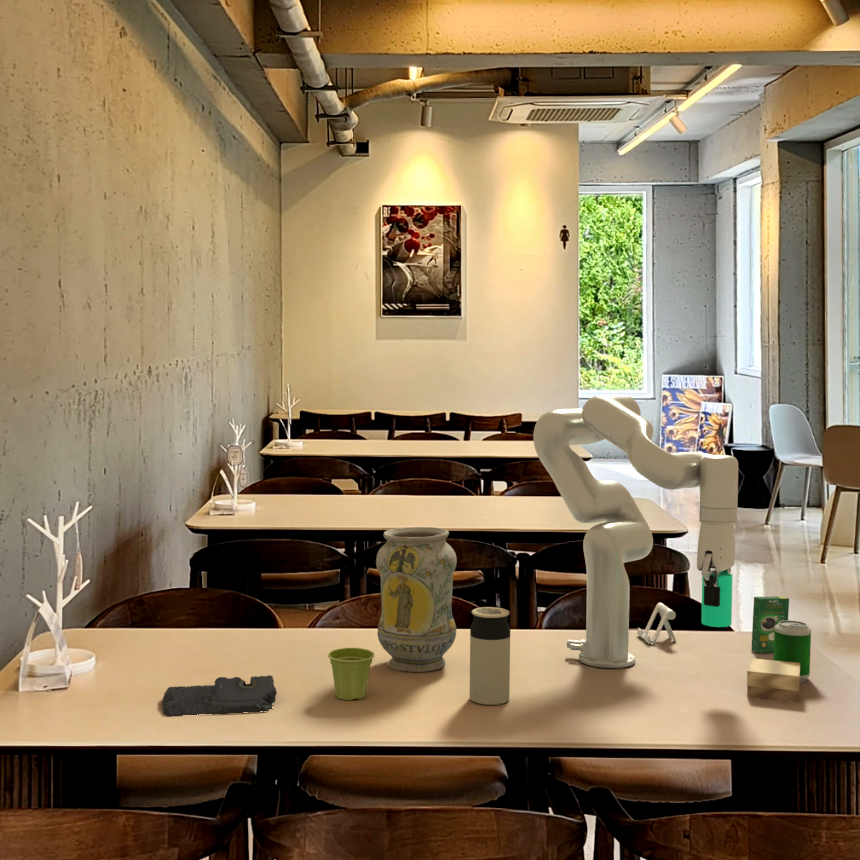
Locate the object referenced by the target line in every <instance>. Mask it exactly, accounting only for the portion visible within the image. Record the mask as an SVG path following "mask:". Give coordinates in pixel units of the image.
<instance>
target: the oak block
mask: <svg viewBox="0 0 860 860" xmlns="http://www.w3.org/2000/svg"><path fill="white" fill-rule="evenodd" d="M746 671H747V672H746V676H747V677H746V686H756V687H766V688H776V689H785V690H795V691H799V692H800V682H799V681H800V663H795V662H784V661H774V659H772V660H771V659H763V658H751V657H750V659H749V663H748V668H747V670H746Z"/></svg>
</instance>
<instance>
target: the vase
mask: <svg viewBox="0 0 860 860" xmlns="http://www.w3.org/2000/svg"><path fill="white" fill-rule="evenodd" d="M449 535H450V532H449V530H448V529H445V528H441V527H433V526H432V527H431V526H410V527H408V526H407V527H399V528H398V527H397V528H391V529H387V530H386V531H384V532H383V538H384V539H385V540H386V543H384V544H383V545H382V546H381V547H380V548H379V550H378V551H377V554H376V558H375V564H376V569H377V572H378V573H379V575H380V576H379V577H380V597H381V599H380V600H381V615H380V619H379V621H378V625H377V634H376V635H377V639H378V641H379V644H380V645H381V646H382V647H381V648H382V649H383V650H384V651H385V652H386V653H387V654H388V655H389V656H391V659H390V660H389V661H388V663H387V664H388V667H390V668H391V669H393V670H395V669H397V670H396V671H400V670H401V672H406V671H408V672H407V673H426V672H425V671H428V672H432V671H437V669H438V670H441V669H442V668H444V667H445V665H446V659H444V655H445V654H446V652H447V653H448V651H449V650H450V648H451V647H452V646H453V644H454V642H455V640H456V638H457V637H456V635H457V625H456V622H455V619H454V617H453V613H452V612H453V611H452V609H453V608H452V601H453V587H454V586H453V581H454V580H453V578H454V577H453V575H454V572H455V570H456V568H457V563H458V562H457V560H458V559H457V555H456V552H455V550H454V548H452V546H451V545H450V544H449V543H447V541H446V540H447V538H448V537H449ZM440 668H441V669H440Z"/></svg>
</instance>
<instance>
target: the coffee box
mask: <svg viewBox="0 0 860 860" xmlns="http://www.w3.org/2000/svg"><path fill="white" fill-rule="evenodd" d="M789 607H790V598H789V597H786V596H785V595H784V596H782V595H781V596H780V595H779V596H778V595H776V596H775V595H774V596H754V597H753V610H752V611H753V612H752V627H751V628H752V633H751V650H750V651H751V652H752V651H754V652H756V653H755V654H772V653H773V654H774V628H775V626H776V625H777V624H778V623H779V622H780V621H786V620H789V610H790V608H789ZM754 652H753V653H754Z"/></svg>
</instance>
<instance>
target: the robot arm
mask: <svg viewBox="0 0 860 860" xmlns="http://www.w3.org/2000/svg"><path fill="white" fill-rule="evenodd" d="M640 408H641V407H640V406H639V403H638V402H637V401H636V400H635V399H634V398H633V397H631V396H630V395H626V394H599V395H595V396H592V397H590V398H589V399H588V400H587V401H585V403H584V404H583V406H582V408H561V409H553V410H550V411H547V412H545V413H543V414H542V415H541V416H540V417H539V418H538V420H536V423H535V425H534V430H533V446H534V450H535V452H536V455H537V457H538V459H539V461H540V462H541V464H542V465H543V467H544V468H545V469H546V472H547V473H548V474H549V476H550V478H551V479H552V480H553V483H554V485H555V487H556V489H557V491H558V492H559V494H560V497H561V498H562V499H563V501H564V504H565V505H566V506H567V508H568V511H569V512H570V514H571V515H572V517H573V518H574V520H575V521H576V522H578V523H580V524H596V523H598V524H596V525H593V526H592V527H590V528H589V529H588V531H587V532H586V533H585V535H584V538H583V544H582V546H583V554H584V561H585V569H586V615H585V617H586V622H585V625H586V626H585V628H586V630H585V632H586V633H585V639H581V640H576V639H567V641H566V648H567V649H570V651H580V653H579V654H578V661H579V662H581V663H582V664H584V665H587V666H590V667H595V668H601V669H602V668H603V669H619V668H620V669H622V668H627V667H630V666H632V665H634V664H635V663H636V657H635V655H633V654H632V653H630V652H629V636H630V635H629V631H630V630H629V627H630V626H629V625H630V624H629V623H630V579H629V575H628V574H627V571H626V567H625V563H628V562H629V563H630V562H634V561H637V560H642V559H644V558H646V557H647V556H648V555H649V554H650V553H651V552H652V549H653V546H654V538H653V533H652V530H651V528H650V526H649V524H648V522H647V520H646V519H645V517H644V514H642V511H641V510H640V508H639V507H638V505H637V503H636V501H635V499H634V498H633V495H632V494H631V493H630V492H629V490H628V489H627V487H625V486H624V485H623V484H621V483H620V482H618V481H616V480H612V479H610V480H609V479H607V480H606V479H605V480H597V479H596V478H595V476H594V475H592V472H591V471H590V469H589V467H588V465H587V463H586V462H585V460H584V459H583V458H582V457H581V456H580V455H579V454H577V452H575V451H574V450H573V449H572V448H571V447H570V446H577V445H588V444H594V443H598V442H601V441H604V440H605V441H606V440H607V441H608V442H609V443H610V444H612V445H614V446H615V447H617V448H618V449H620V450H621V451H623V452H624V453H625V454H626V456H627V458H628V461H629V463H630V464H631V466H632V467H633V469H634V470H635V471H636V472H637V473H638V474H640V476H643V477H644V478H645V479H647V480H648V481H650V482H651V483H653V484H654V485H656V486H658V487H660V488H662V489H666V490H670V491H673V490H681V489H690V488H699V520H698V521H699V523H700V526H699V530H698V531H699V533H698V538H697V539H698V540H697V541H698V542H697V552H696V553H697V555H696V556H697V557H696V569H697V570H698V571H700V572H701V577H702V576H703V579H704V605H708V606H715V607H718V606H720V587H718V585H719V576H720V572H722V571H723V572H725V573H729V574H731V573H732V572H731V571H732V567H733V566H735V560H736V533H735V525H736V524H738V501H739V499H738V498H739V497H738V494H739V493H738V492H739V461H738V459H737V458H736V457H735V456H734V455H733V456H732V455H728V454H727V455H726V454H710V453H705V452H702V451H683V452H672V453H671V452H669V451H667V450H665V449H663V448H662V447H660V446H658V444H655V442H653V441H652V439H653V437H654V427H653V424H652V423H651V421H649V420H647V419H646V418H644V417H643V416H641V409H640ZM711 569H712V570H716V571H712V570H711ZM711 574H714V575H715V579H714V577H713V575H711Z"/></svg>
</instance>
